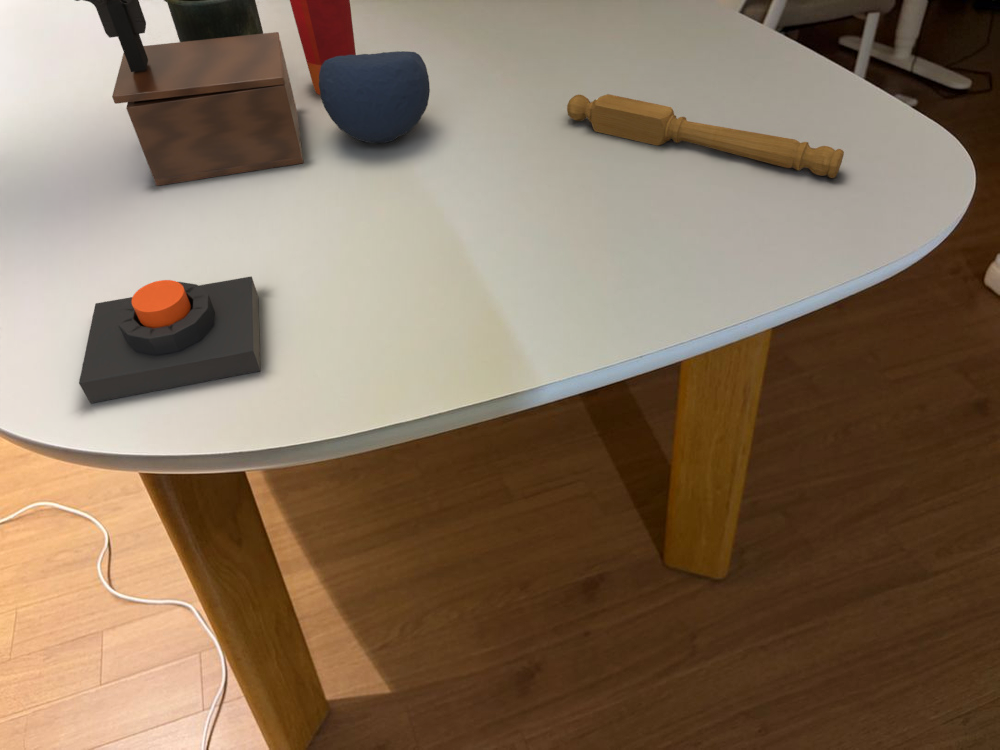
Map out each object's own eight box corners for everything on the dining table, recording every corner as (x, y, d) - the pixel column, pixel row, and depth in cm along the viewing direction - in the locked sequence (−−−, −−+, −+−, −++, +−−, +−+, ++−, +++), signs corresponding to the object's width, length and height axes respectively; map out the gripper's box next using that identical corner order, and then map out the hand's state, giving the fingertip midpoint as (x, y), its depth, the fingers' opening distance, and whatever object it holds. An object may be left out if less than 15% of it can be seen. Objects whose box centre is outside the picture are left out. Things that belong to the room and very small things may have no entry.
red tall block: (375, 75, 103) (357, -42, 93) (354, 102, 98) (332, -19, 88) (319, 72, 105) (295, -44, 95) (295, 98, 99) (267, -21, 89)
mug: (203, 111, 98) (171, 9, 90) (178, 70, 107) (146, -26, 99) (289, 89, 101) (265, -11, 93) (256, 51, 111) (232, -43, 102)
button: (137, 332, 62) (128, 315, 61) (141, 301, 65) (133, 284, 64) (189, 323, 63) (182, 306, 61) (191, 293, 65) (185, 275, 64)
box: (156, 186, 85) (126, 107, 79) (164, 132, 94) (137, 58, 88) (303, 163, 87) (284, 85, 81) (297, 113, 96) (280, 39, 90)
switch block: (90, 403, 62) (68, 365, 59) (105, 323, 69) (86, 286, 66) (260, 371, 64) (247, 333, 61) (258, 296, 71) (246, 258, 68)
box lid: (114, 104, 79) (111, 96, 78) (127, 54, 88) (124, 47, 87) (284, 84, 81) (283, 77, 81) (279, 38, 90) (278, 31, 90)
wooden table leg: (839, 157, 77) (562, 98, 89) (831, 185, 80) (562, 124, 91) (847, 143, 79) (575, 87, 91) (839, 171, 81) (574, 112, 93)
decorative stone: (449, 147, 89) (441, 57, 82) (345, 172, 86) (327, 81, 79) (416, 104, 96) (406, 19, 90) (319, 126, 94) (301, 40, 87)
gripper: (-58, -200, 63) (68, 90, 79) (114, -216, 65) (203, 71, 81) (-35, -214, 68) (79, 60, 85) (124, -228, 70) (205, 43, 86)
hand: (139, 65), depth 83 cm, fingers closed
